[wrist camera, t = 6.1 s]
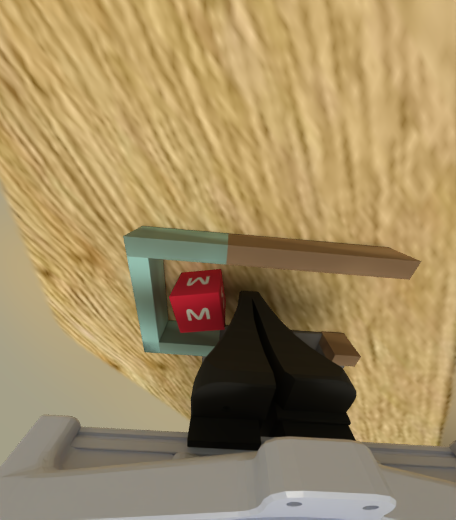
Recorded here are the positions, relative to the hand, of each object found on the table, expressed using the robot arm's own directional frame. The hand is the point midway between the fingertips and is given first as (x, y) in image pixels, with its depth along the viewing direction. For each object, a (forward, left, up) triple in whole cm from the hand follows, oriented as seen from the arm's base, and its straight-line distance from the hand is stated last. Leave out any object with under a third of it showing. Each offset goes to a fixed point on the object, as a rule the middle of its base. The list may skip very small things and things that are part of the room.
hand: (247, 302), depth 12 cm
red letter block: (0, +3, -1) cm, 4 cm away
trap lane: (-2, -1, -1) cm, 2 cm away
